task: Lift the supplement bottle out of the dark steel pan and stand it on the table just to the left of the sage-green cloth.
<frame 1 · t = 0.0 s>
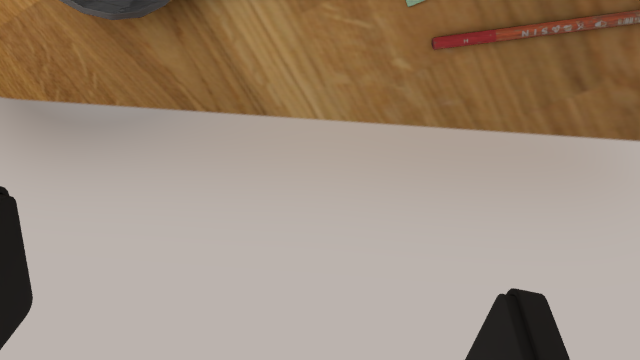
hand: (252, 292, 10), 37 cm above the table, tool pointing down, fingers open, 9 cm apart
pencil: (547, 26, 43), on the table
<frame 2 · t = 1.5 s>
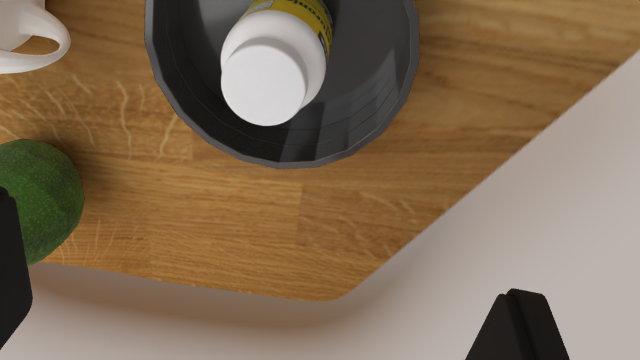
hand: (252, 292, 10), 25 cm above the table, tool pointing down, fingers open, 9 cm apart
supplement bottle: (291, 26, 32), resting on pan
avocado: (57, 165, 40), on the table
pan: (292, 25, 32), on the table
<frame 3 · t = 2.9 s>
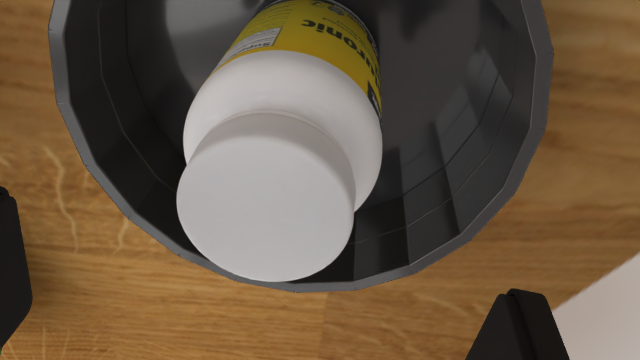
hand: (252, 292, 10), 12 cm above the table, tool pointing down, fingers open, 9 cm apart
supplement bottle: (309, 62, 20), resting on pan
pan: (310, 59, 20), on the table
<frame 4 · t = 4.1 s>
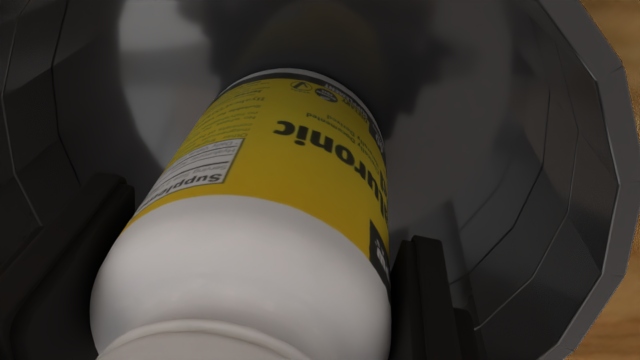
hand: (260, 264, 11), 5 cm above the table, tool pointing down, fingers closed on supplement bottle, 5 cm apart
supplement bottle: (294, 147, 15), resting on pan, touching gripper
pan: (295, 142, 15), on the table
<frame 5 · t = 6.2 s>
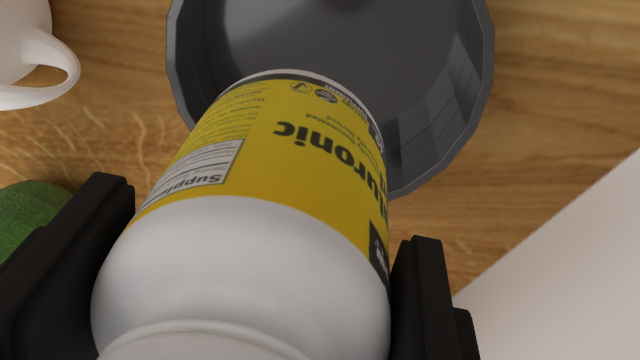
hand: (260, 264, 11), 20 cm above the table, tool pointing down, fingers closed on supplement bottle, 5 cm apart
supplement bottle: (294, 148, 15), point 14 cm above the table, touching gripper
avocado: (68, 207, 36), on the table
pan: (333, 45, 28), on the table
mug: (15, 14, 29), on the table
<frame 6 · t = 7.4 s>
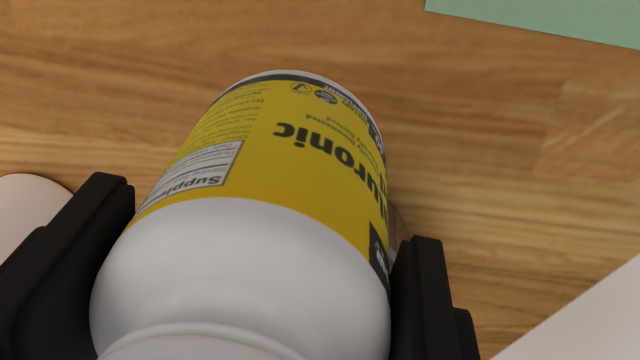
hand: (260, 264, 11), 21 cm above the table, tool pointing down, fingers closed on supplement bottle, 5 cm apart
supplement bottle: (293, 149, 15), point 16 cm above the table, touching gripper
pan: (305, 252, 37), on the table
mug: (66, 225, 39), on the table
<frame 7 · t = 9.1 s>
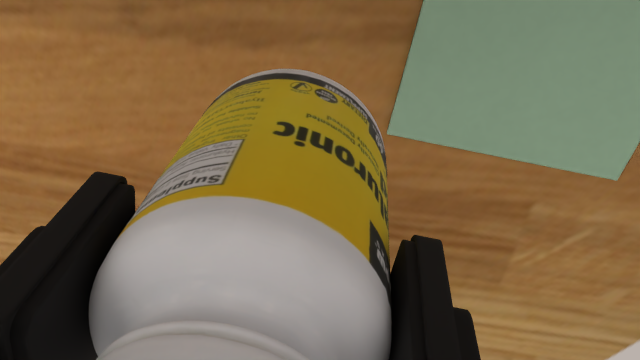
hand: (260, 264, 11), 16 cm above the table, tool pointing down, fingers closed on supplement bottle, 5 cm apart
supplement bottle: (293, 148, 15), point 11 cm above the table, touching gripper
cloth: (558, 19, 23), on the table
when the fingers open (5 cm above the table, at t = 12.0 s): supplement bottle stays where it is, on the table.
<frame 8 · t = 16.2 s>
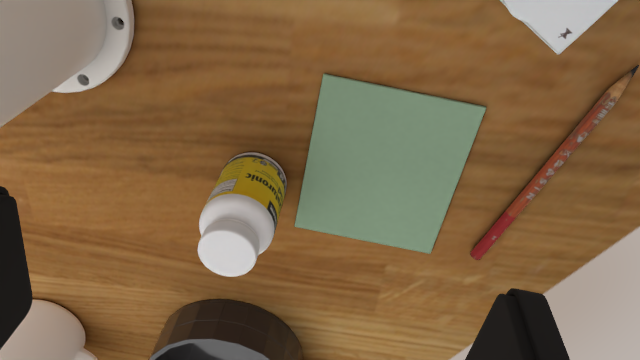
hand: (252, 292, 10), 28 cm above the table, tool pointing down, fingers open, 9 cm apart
pencil: (543, 168, 40), on the table
supplement bottle: (255, 177, 43), on the table
cloth: (381, 170, 41), on the table
pan: (232, 351, 54), on the table
mug: (65, 329, 55), on the table
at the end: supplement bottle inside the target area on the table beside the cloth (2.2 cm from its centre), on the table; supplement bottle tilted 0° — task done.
